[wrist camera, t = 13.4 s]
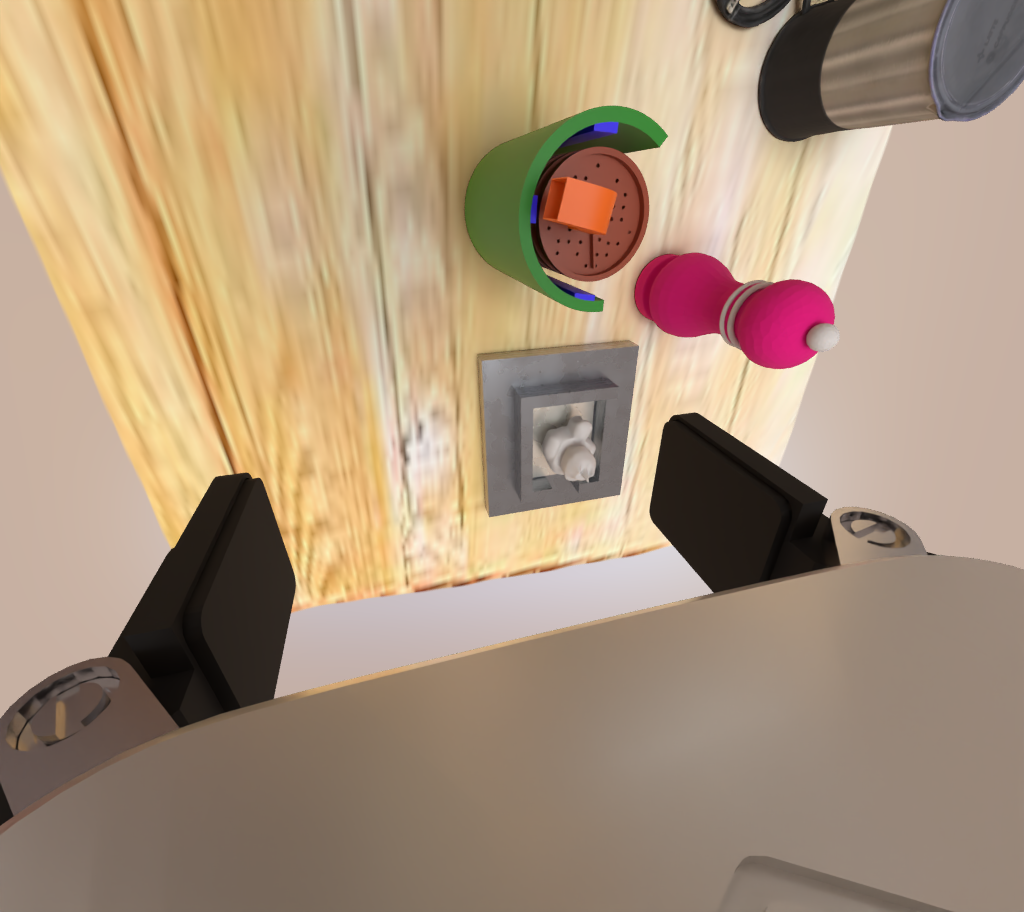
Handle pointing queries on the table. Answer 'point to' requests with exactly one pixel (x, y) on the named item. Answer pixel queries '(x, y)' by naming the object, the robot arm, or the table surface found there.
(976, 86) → the milk frother
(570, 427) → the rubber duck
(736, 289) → the pepper mill
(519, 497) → the plate
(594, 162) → the green round disc holder
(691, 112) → the table surface
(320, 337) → the table surface
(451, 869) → the robot arm
